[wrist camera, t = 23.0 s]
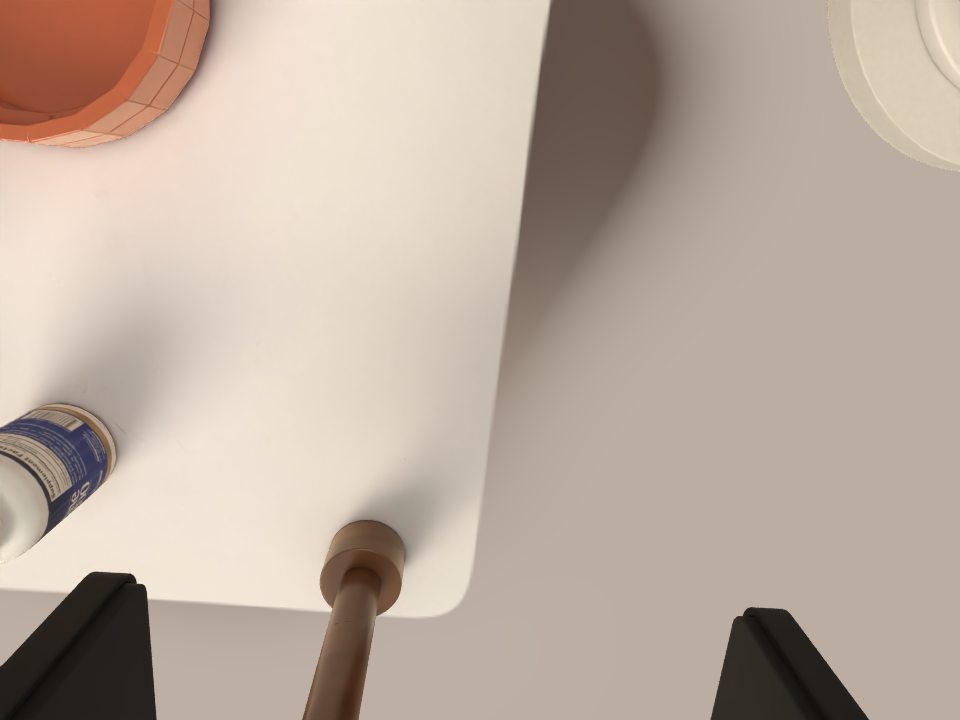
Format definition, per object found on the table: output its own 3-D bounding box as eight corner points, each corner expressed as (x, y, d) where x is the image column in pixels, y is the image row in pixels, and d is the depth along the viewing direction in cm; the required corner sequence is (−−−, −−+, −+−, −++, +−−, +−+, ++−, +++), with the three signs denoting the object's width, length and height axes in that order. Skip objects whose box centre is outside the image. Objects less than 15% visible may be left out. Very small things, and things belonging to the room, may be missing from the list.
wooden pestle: (404, 519, 37) (372, 761, 21) (405, 585, 38) (375, 859, 23) (327, 520, 37) (239, 764, 21) (331, 586, 38) (250, 864, 22)
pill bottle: (61, 508, 36) (-77, 624, 26) (-5, 432, 34) (-175, 526, 25) (140, 463, 35) (28, 565, 26) (76, 383, 34) (-67, 460, 24)
